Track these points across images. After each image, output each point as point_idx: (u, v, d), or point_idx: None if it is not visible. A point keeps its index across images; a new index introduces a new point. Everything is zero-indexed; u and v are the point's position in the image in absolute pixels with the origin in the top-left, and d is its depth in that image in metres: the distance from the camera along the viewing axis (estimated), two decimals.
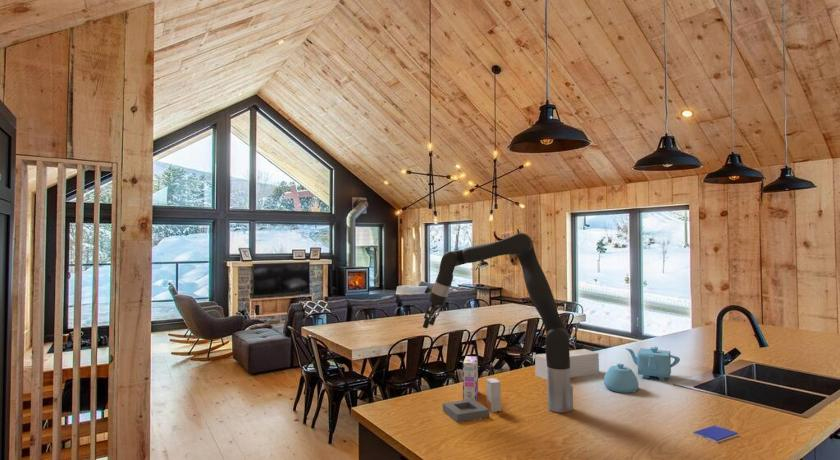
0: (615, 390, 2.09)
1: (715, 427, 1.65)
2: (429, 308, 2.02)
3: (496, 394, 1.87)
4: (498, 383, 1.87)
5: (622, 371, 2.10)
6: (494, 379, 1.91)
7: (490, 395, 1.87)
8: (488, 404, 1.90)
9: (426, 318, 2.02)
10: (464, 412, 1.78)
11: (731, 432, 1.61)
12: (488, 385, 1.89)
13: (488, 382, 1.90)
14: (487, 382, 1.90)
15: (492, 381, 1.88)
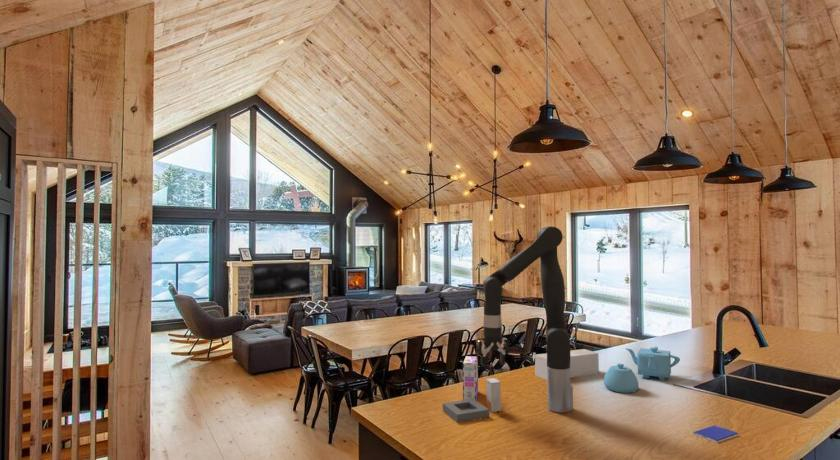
0: (615, 390, 2.09)
1: (715, 427, 1.65)
2: (477, 342, 1.88)
3: (496, 394, 1.87)
4: (498, 383, 1.87)
5: (622, 371, 2.10)
6: (494, 379, 1.91)
7: (490, 395, 1.87)
8: (488, 404, 1.90)
9: (477, 354, 1.88)
10: (464, 412, 1.78)
11: (731, 432, 1.61)
12: (488, 385, 1.89)
13: (488, 382, 1.90)
14: (487, 382, 1.90)
15: (492, 381, 1.88)
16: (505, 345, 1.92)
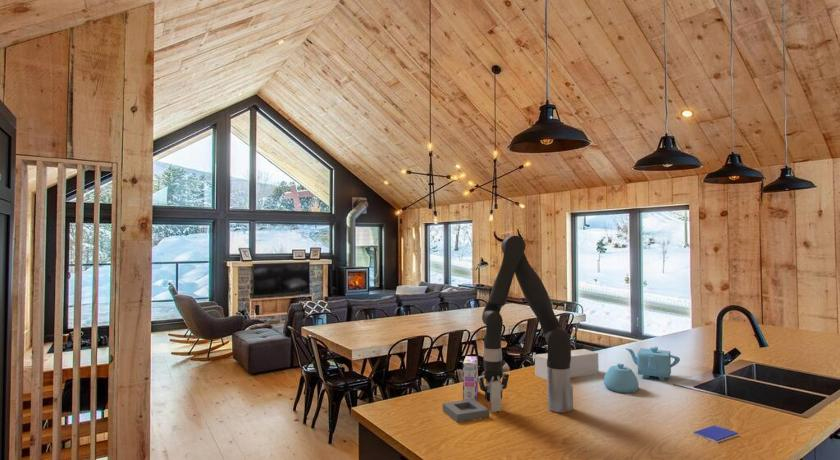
0: (615, 390, 2.09)
1: (715, 427, 1.65)
2: (478, 379, 1.88)
3: (496, 394, 1.87)
4: (498, 383, 1.87)
5: (622, 371, 2.10)
6: None
7: (490, 394, 1.87)
8: (488, 404, 1.90)
9: None
10: (464, 412, 1.78)
11: (731, 432, 1.61)
12: None
13: None
14: None
15: None
16: (504, 380, 1.91)
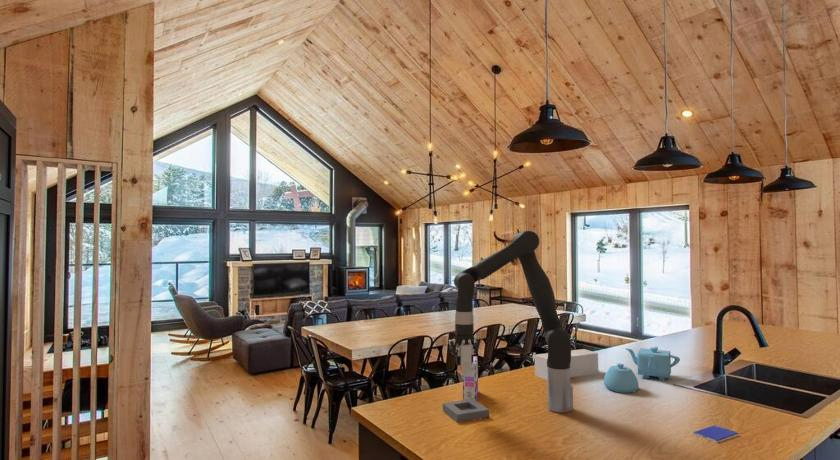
0: (615, 390, 2.09)
1: (715, 427, 1.65)
2: (449, 342, 1.84)
3: (466, 358, 1.83)
4: (469, 347, 1.84)
5: (622, 371, 2.10)
6: None
7: (461, 358, 1.83)
8: (459, 368, 1.86)
9: (452, 353, 1.84)
10: (464, 412, 1.78)
11: (731, 432, 1.61)
12: None
13: None
14: None
15: (463, 345, 1.85)
16: (475, 344, 1.88)
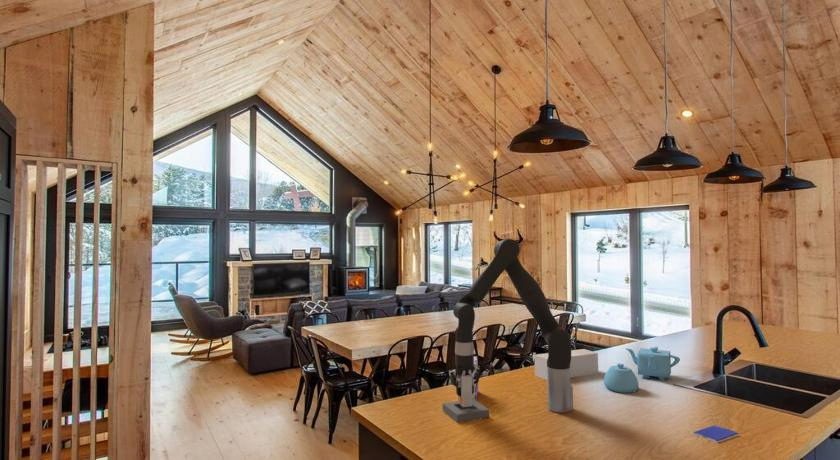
0: (615, 390, 2.09)
1: (715, 427, 1.65)
2: (449, 373, 1.84)
3: (467, 389, 1.83)
4: (469, 377, 1.83)
5: (622, 371, 2.10)
6: None
7: (461, 389, 1.83)
8: (459, 399, 1.86)
9: (452, 384, 1.84)
10: (464, 412, 1.78)
11: (731, 432, 1.61)
12: None
13: None
14: (459, 377, 1.86)
15: None
16: (476, 375, 1.87)
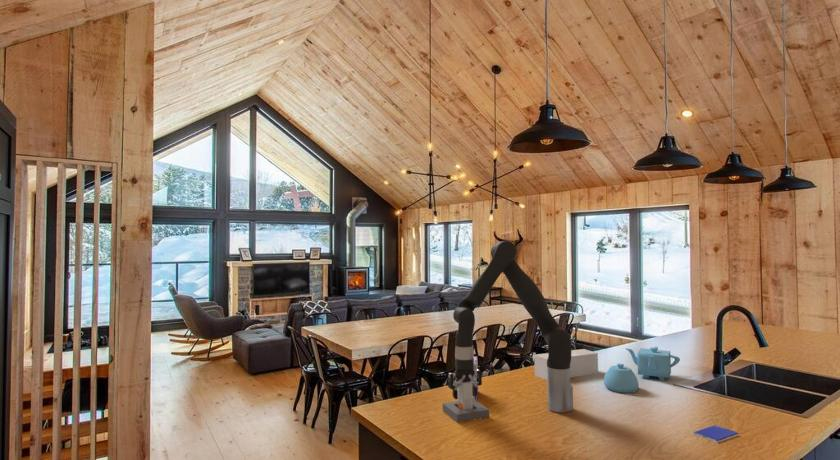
0: (615, 390, 2.09)
1: (715, 427, 1.65)
2: (449, 375, 1.83)
3: (467, 395, 1.82)
4: (470, 384, 1.83)
5: (622, 371, 2.10)
6: None
7: (462, 396, 1.82)
8: (459, 406, 1.85)
9: (449, 387, 1.83)
10: (464, 412, 1.78)
11: (731, 432, 1.61)
12: (460, 386, 1.85)
13: None
14: None
15: (464, 382, 1.84)
16: (478, 377, 1.87)
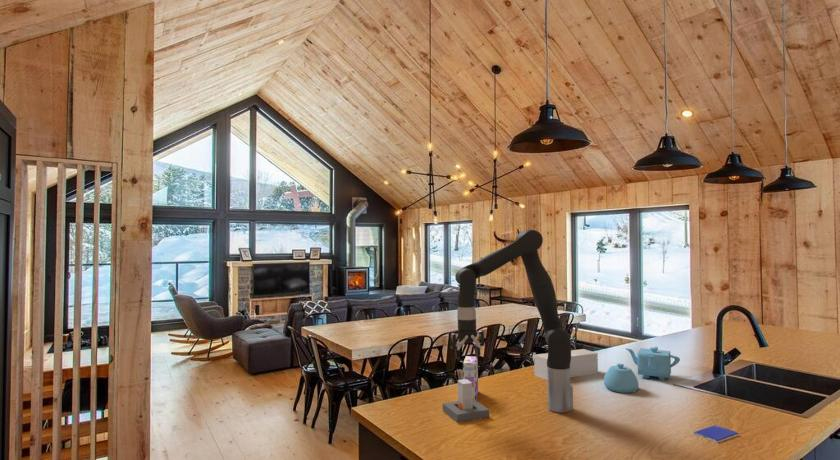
0: (615, 390, 2.09)
1: (715, 427, 1.65)
2: (451, 335, 1.84)
3: (467, 395, 1.82)
4: (470, 384, 1.83)
5: (622, 371, 2.10)
6: (466, 380, 1.87)
7: (462, 396, 1.82)
8: (459, 406, 1.85)
9: (451, 347, 1.83)
10: (464, 412, 1.78)
11: (731, 432, 1.61)
12: (460, 386, 1.85)
13: (459, 383, 1.85)
14: (459, 383, 1.86)
15: (464, 382, 1.84)
16: (480, 338, 1.88)
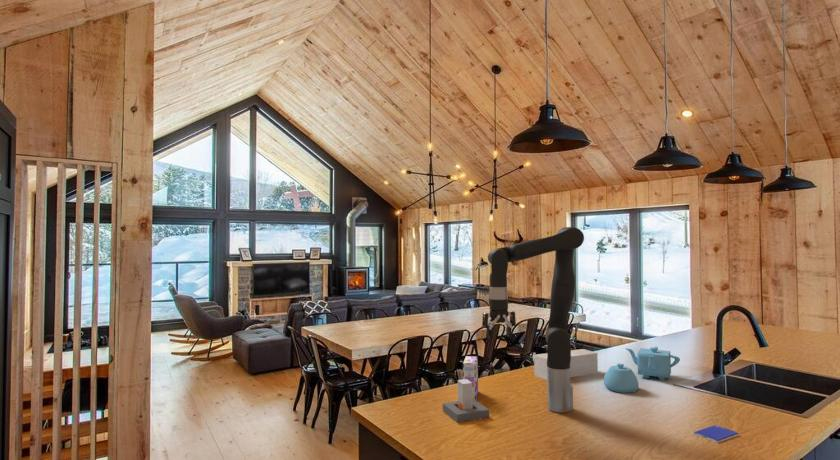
0: (615, 390, 2.09)
1: (715, 427, 1.65)
2: (483, 315, 1.85)
3: (467, 395, 1.82)
4: (470, 384, 1.83)
5: (622, 371, 2.10)
6: (466, 380, 1.87)
7: (462, 396, 1.82)
8: (459, 406, 1.85)
9: (483, 326, 1.85)
10: (464, 412, 1.78)
11: (731, 432, 1.61)
12: (460, 386, 1.85)
13: (459, 383, 1.85)
14: (459, 383, 1.86)
15: (464, 382, 1.84)
16: (511, 318, 1.89)
